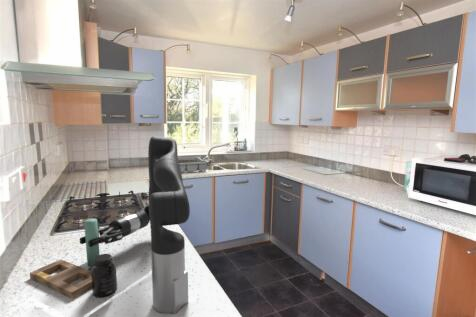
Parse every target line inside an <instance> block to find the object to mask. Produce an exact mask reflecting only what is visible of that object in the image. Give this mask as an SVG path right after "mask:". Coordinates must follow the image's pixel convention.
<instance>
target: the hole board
mask: <svg viewBox="0 0 476 317" xmlns="http://www.w3.org/2000/svg"><path fill="white" fill-rule="evenodd" d="M79 266H80V265H76V264H75V263H74V264H73V263H71V262H69V261H66V260H64V259H61V258H60V259H58V260H56V261H54V262H52V263H49V264H45V266H42V267H40V268H37V269H34V270H33V271H30V272H29V279H30V280H32V281H35V282H36V283H39V284H41V285H43V286H44V287H47V288H48V289H51V290H53V291H55V292H57V293H59V294H62V295H63V296H66V297H68V298H69V299H72V300H73V299H75V298H77V297H78V296H80V295H82V294H84V293H86V292H88V291H89V290H90V289H92V278H91V271H89V270H87V269H84V268H82V267H79ZM59 270H60V271H59ZM57 271H59V272H58V273H56V274H54V275H50V274H53V273H55V272H57ZM79 279H82V281H79V282H78V283H76V284H74V285H73V284H71V283H73V282H75V281H76V280H79Z"/></svg>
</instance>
